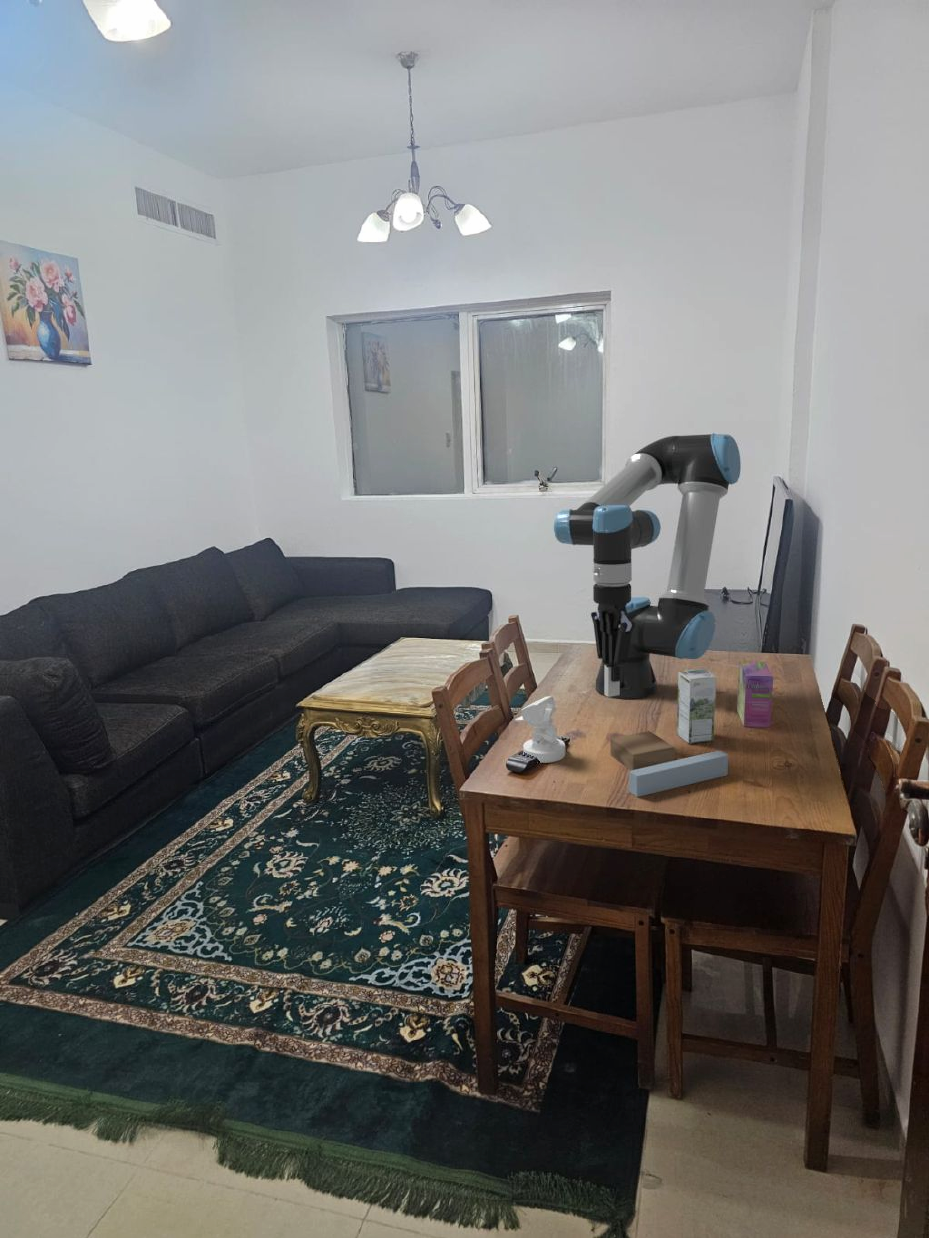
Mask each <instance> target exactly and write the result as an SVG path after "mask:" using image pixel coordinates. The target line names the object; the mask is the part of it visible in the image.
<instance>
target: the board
mask: <svg viewBox="0 0 929 1238" xmlns="http://www.w3.org/2000/svg"><path fill="white" fill-rule="evenodd" d="M728 766H729V754H727V753H726V752H723V751H721V750H715V751H711V752H706V753H703V754H698V755H697V754H696V755H692V756H689V757H685V758H680V759H676V760H675V759H674V761H671V762H666V763H662V764H658V765H653V766H649V767H645V768H640V769H636V770H632V771H631V770H629V771H628V792H629V793H630V794H632V795H633V796H635V797H636V798H639V797H643V796H647V795H650V794H651V795H652V794H654V793H659V792H664V791H668V790H671V789H676V788H680V787H684V786H688V785H692V784H696V783H700V782H704V781H707V780H712V779H716V778H720V777H725V776H728V775H729V774H728V770H729V769H728V768H729V767H728Z"/></svg>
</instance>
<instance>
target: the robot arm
mask: <svg viewBox="0 0 929 1238" xmlns="http://www.w3.org/2000/svg"><path fill="white" fill-rule="evenodd" d="M739 450H740V449H739V446H738V443H737V442H736V440H735V439H734V437H733V436H731V435H730V434H727V433H725V434H724V433H723V434H722V433H721V434H720V433H718V434H717V433H710V434H692V435H691V434H690V435H689V434H688V435H670V436H667V437H666V436H665V437H663V438H659V439H658V440H655V441H653V442H651V443H649V444H647V445H646V446H643V447H642V448H641V449H639V450H638V451H636V452H635V453H634V454H633V455H631V456H630V458H628V459H627V461H626V464H625V465H624V468H623V469H622V470H620V471H619V472H618V473H617V474H615V476H614V477H612V478H611V479H609V481H607V483H605V484H604V485H603V486H602V487H601V488H600V489H598V491H596V492H595V493H594V494H593V495H591V496H590V497H589V498H588V499H587V500H586V501H585V502H584V503H582V504H581V505H580V506H579V507H578V508H577V509H572V508H570V509H565V510H560V511H558V513H557V514H556V516H555V519H554V522H553V532H554V536H555V538H556V540H557V541H558V542H559V543H561V544H566V545H567V544H568V545H572V546H593V560H592V561H593V569H592V573H593V581H594V584H593V586H592V587H593V588H592V589H593V590H592V591H593V594H592V595H593V596H592V597H593V599H592V600H593V602H594V603H595V604H597V610H596V611H593V612H591V613H590V617H591V619H592V623H593V629H594V637H595V638H594V639H595V646H596V647H595V648H596V654H597V655H596V656H597V658H598V660H599V659H600V660H601V663H600V667H599V669H598V673H597V676H596V678H595V691H596V692H597V693H599V694H601V695H603V696H604V697H607V698H616V699H640V698H646V697H650V696H652V695H654V694H655V693H656V692H657V689H658V688H657V687H658V686H657V685H658V684H657V679H656V675H655V672H654V670H653V667H652V666H653V665H652V663H651V660H650V659H651V658H650V654H651V655H656V656H657V655H658V656H664V657H671V658H677V659H680V660H684V659H687V660H697V659H700V658H702V656H704V655H705V654H706V653H707V651H708V650H709V648H710V647H711V643H712V641H713V638H714V634H715V631H716V624H715V622H716V618H715V615H714V613H713V612H711V611H710V610H709V608H710V604H709V602H708V600H706V599H705V590H706V585H707V577H708V572H709V566H710V559H711V555H712V550H713V549H712V548H713V541H714V536H715V529H716V522H717V518H718V512H719V506H720V500H721V499H722V498H723V497H725V496H726V495H727V494H728V490H729V485H734V484H736V483H737V482H738V481H739V478H740V476H741V470H742V469H741V468H742V467H741V453H740V451H739ZM667 484H672V485H673V484H676V485H677V489H678V491H679V492H680V494H682V498H681V504H680V509H679V515H678V520H677V528H676V535H675V539H674V540H675V541H674V547H673V551H672V557H671V564H670V570H669V576H668V583H667V588H666V591H665V592H664V594H662V595H660V596H659V598H658V602H657V605H651V604H652V602H651V600H650V598H649V597H644V596H643V597H642V596H640V597H632V585H631V584H630V582H631V581H632V580H633V579H632V574H633V573H632V569H633V568H632V563H633V562H632V550H634V549H637V548H644V547H647V546H648V545H650V544H652V543H654V542H655V541H656V540H657V539H658V538H659V536H660V532H661V529H662V528H661V522H660V519H659V518H658V516H657V515H656V514H655V513H654V512H653V511H652V510H651V511H650V510H647V509H637V510H633V511H632V508H631V507H630V506H631V505H633V503H635V502H636V500H638V499H639V498H640V497H641V496H642V495H643V494H644V493H645V492H646V491H651V490H654V489H656V488H657V487H658V486H660V485H667Z"/></svg>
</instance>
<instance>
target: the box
mask: <svg viewBox="0 0 929 1238" xmlns="http://www.w3.org/2000/svg"><path fill="white" fill-rule="evenodd" d="M737 678H738V679H737V680H738V682H737V702H736V711H737V714H738V715H739V718H740V721H741V723H742V726H743V727H745V728H760V729H761V728H762V729H763V728H764V729H767V728H771V718H772V704H773V701H772V700H773V689H774V675H773V674H772V672H771V671H770V669H769V667H768V665H767V663H766V662H764V661H739V662H738V677H737Z"/></svg>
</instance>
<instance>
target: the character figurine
mask: <svg viewBox="0 0 929 1238" xmlns="http://www.w3.org/2000/svg"><path fill="white" fill-rule="evenodd" d="M557 710H558V708H557V707H556V705H555V699H554V696H553V695H550V696H549V695H548V696H547V695H546V696H544V697H543V698H541V699H538V700H536V701H534V702H532V703H530V704H528V705H526V706H525V707H523V708H522V709H521V710H520V713H521V716H519V717H517V718H515V719H514V722H515V723H519V722H527V726H528V727H532V728H534V729H533V733H532V736H533V737H532V738H531V739H528V740H527V741H525V742H524V743H523V746H522V748H523V751H522V752H523V753H524V752H525V753H527V754H529V755H531V756H534V757H537V759H538V760H539V761H540V763H539V764H542V763H543V764H547V763H553V762H557V761H560V760H562V759H564V757H565V756H566V744H565V743H566V742H564V741H563V740H562V739H561V738H558V728H557V727H556V725H553V724H554V719H553V718H552V717H553V716H554V714H555V712H557Z"/></svg>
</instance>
